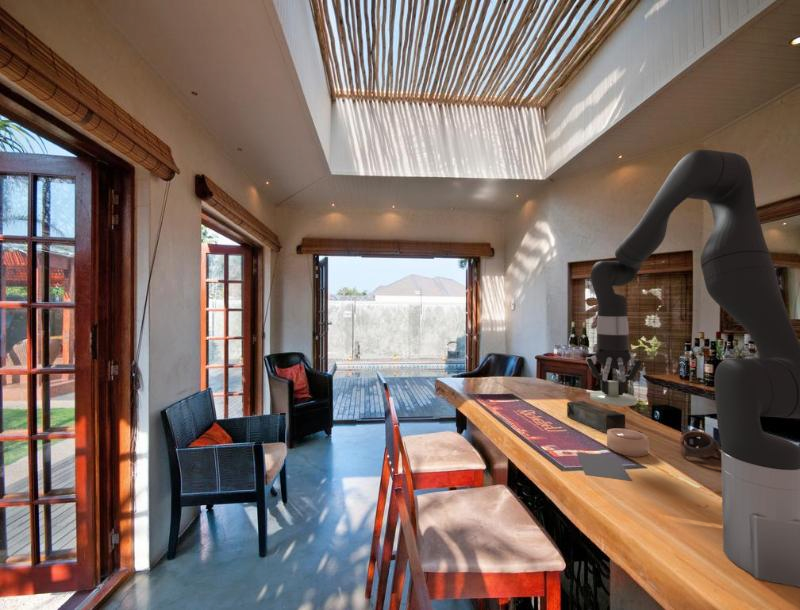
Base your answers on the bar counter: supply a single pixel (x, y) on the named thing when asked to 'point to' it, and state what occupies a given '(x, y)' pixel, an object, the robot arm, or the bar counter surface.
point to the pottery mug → (699, 445)
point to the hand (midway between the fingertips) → (612, 393)
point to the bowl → (627, 442)
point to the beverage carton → (595, 416)
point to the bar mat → (603, 466)
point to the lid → (613, 396)
